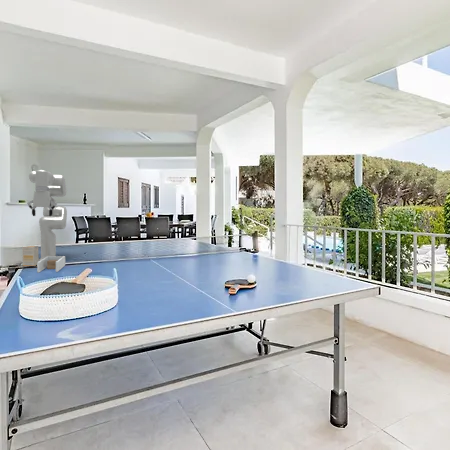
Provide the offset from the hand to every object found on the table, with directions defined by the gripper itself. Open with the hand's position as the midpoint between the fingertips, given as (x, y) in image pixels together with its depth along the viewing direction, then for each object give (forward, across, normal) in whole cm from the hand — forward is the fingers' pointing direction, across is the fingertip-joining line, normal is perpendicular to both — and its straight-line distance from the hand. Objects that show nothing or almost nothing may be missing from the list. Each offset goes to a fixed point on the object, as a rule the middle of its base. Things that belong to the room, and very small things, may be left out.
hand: (42, 216), depth 222 cm
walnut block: (+33, -8, +9) cm, 35 cm away
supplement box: (+33, +7, -1) cm, 34 cm away
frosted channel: (+33, -8, +10) cm, 35 cm away
